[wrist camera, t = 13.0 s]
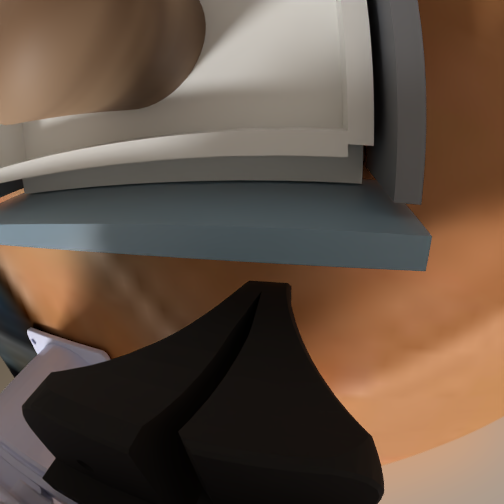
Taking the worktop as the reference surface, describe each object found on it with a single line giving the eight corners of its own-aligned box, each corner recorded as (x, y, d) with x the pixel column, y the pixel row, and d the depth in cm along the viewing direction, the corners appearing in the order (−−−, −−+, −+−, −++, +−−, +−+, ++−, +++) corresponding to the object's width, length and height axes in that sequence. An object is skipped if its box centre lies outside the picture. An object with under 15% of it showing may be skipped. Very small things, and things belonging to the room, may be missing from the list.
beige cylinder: (209, 98, 9) (105, 91, 4) (85, 121, 10) (-27, 144, 5) (204, -37, 7) (120, -110, 2) (83, 4, 8) (-19, -14, 3)
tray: (383, 201, 10) (425, 271, 5) (32, 203, 13) (-42, 241, 9) (362, -82, 5) (371, -164, 1) (23, 8, 9) (-52, 4, 4)
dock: (383, 168, 10) (421, 204, 6) (33, 182, 13) (-34, 210, 9) (357, -94, 5) (362, -162, 1) (30, -7, 9) (-34, -14, 5)
